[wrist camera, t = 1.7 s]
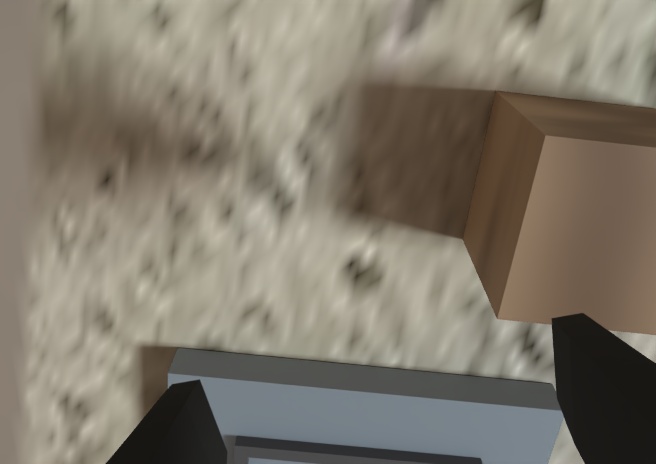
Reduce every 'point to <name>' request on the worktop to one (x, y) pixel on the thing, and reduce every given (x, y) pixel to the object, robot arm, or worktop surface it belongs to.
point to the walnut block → (567, 212)
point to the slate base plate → (368, 412)
